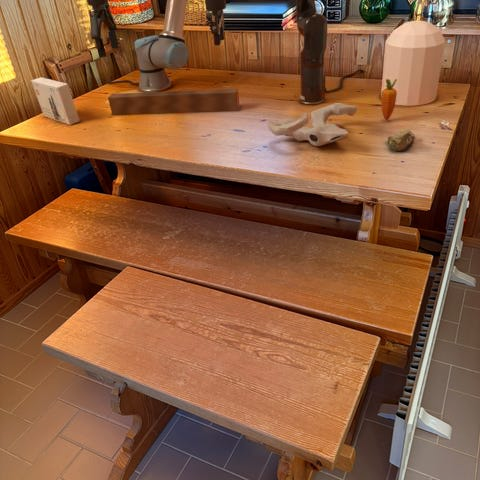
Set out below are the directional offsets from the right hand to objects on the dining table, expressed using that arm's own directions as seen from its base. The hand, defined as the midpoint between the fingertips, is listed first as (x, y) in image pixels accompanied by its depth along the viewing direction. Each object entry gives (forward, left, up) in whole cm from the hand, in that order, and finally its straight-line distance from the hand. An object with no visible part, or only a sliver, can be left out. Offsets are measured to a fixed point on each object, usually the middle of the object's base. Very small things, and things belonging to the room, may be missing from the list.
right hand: (219, 42), depth 176 cm
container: (-54, +50, -26) cm, 78 cm away
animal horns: (+2, +53, -26) cm, 59 cm away
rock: (-12, +74, -26) cm, 80 cm away
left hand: (+30, -33, -1) cm, 45 cm away
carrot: (-27, +58, -26) cm, 69 cm away
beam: (+15, -16, -26) cm, 34 cm away
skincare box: (+52, -49, -26) cm, 76 cm away
